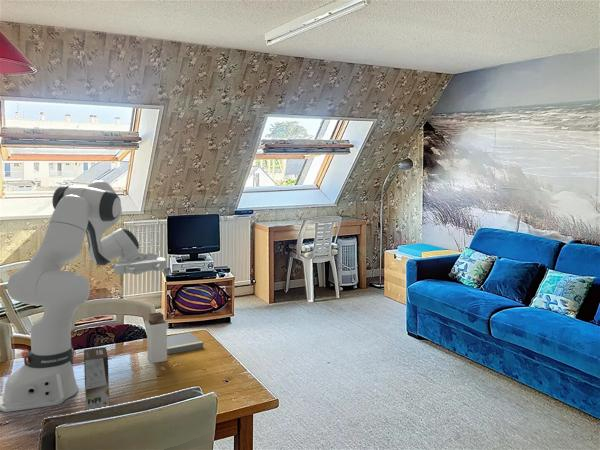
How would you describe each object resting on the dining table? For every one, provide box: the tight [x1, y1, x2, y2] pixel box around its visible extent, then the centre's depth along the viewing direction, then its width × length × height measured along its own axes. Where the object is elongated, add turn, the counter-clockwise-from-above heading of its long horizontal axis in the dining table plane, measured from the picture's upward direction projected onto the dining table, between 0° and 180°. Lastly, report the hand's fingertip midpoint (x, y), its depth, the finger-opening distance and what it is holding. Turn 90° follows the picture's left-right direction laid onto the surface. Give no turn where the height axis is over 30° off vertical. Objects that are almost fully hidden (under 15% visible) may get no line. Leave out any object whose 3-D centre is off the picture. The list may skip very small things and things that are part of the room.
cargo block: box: [148, 311, 165, 325], centre depth 188 cm, size 4×4×4 cm
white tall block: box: [144, 319, 169, 364], centre depth 189 cm, size 6×6×14 cm
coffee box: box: [83, 346, 110, 411], centre depth 154 cm, size 9×6×16 cm
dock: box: [167, 332, 204, 355], centre depth 205 cm, size 14×14×2 cm
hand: (145, 270), depth 198 cm, fingers open, 8 cm apart
